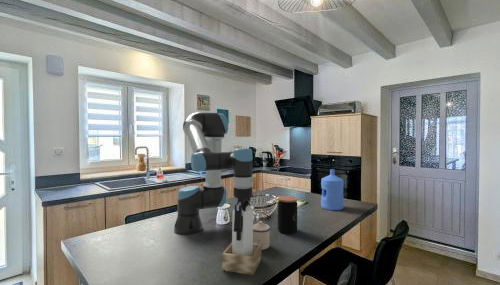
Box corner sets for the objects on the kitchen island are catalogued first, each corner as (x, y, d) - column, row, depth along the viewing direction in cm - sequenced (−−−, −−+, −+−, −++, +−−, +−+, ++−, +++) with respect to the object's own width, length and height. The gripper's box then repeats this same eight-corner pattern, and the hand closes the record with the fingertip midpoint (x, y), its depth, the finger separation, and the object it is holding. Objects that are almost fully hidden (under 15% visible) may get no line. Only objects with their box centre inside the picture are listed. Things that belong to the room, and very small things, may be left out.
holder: (222, 270, 98) (222, 253, 98) (232, 255, 110) (232, 240, 110) (253, 275, 95) (253, 258, 95) (261, 259, 107) (261, 244, 107)
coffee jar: (296, 235, 133) (297, 201, 133) (276, 233, 136) (276, 200, 135) (297, 228, 144) (297, 196, 143) (278, 226, 146) (278, 195, 146)
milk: (252, 255, 103) (253, 201, 102) (243, 261, 98) (243, 204, 98) (241, 251, 107) (242, 199, 106) (231, 256, 102) (232, 201, 102)
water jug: (345, 206, 189) (346, 169, 188) (340, 212, 175) (341, 171, 175) (324, 203, 197) (324, 167, 196) (318, 208, 184) (318, 169, 183)
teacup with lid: (263, 240, 126) (264, 217, 126) (273, 247, 118) (273, 223, 118) (241, 245, 121) (242, 220, 121) (250, 253, 113) (250, 227, 112)
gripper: (244, 193, 91) (244, 256, 91) (257, 182, 111) (257, 234, 111) (224, 191, 93) (224, 253, 93) (241, 182, 113) (241, 233, 113)
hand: (242, 243), depth 102 cm, fingers closed on milk, 8 cm apart
